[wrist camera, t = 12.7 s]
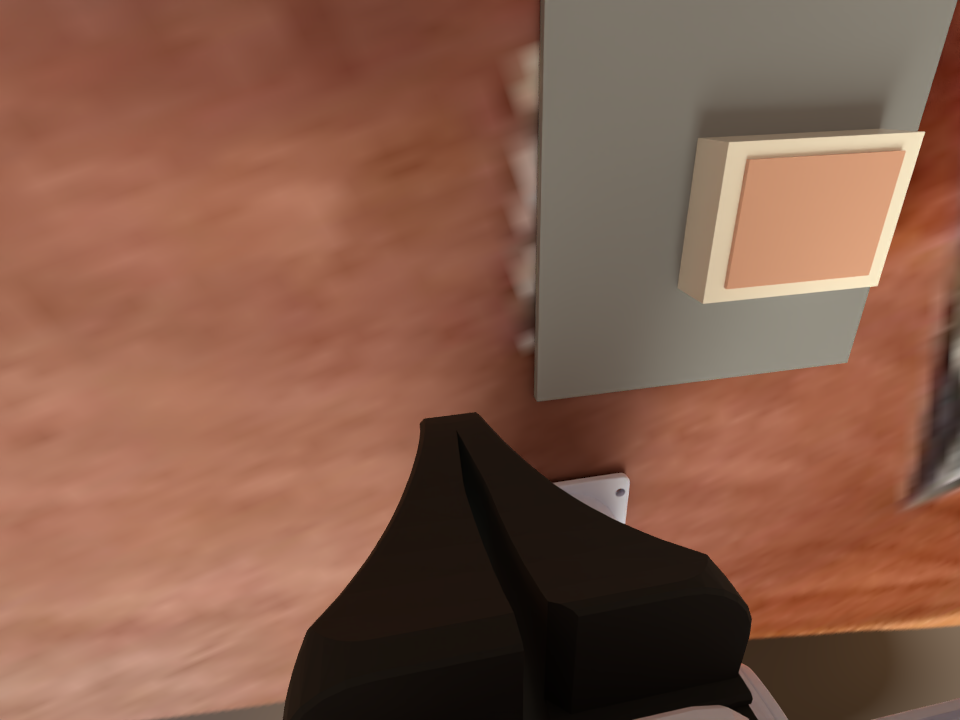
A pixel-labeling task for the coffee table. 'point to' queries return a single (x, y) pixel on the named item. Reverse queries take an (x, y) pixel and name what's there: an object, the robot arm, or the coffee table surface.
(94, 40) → the coffee table surface
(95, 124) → the coffee table surface
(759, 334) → the mat
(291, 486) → the coffee table surface
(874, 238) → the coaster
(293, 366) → the coffee table surface
